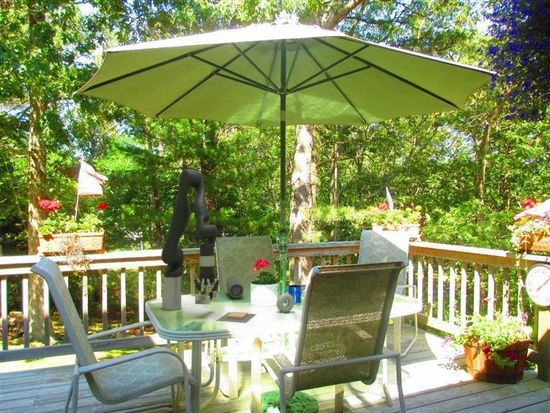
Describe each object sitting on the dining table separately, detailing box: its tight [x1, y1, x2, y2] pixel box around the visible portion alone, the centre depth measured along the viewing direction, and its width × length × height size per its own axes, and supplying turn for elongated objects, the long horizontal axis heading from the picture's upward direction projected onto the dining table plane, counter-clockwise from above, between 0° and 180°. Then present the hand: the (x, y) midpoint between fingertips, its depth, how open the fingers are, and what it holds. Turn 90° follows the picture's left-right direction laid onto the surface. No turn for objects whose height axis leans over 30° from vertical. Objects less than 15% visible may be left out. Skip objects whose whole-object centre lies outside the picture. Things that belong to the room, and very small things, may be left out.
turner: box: [194, 290, 217, 306], centre depth 234 cm, size 7×16×4 cm, turn 167°
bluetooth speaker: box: [225, 277, 244, 299], centre depth 285 cm, size 23×9×10 cm, turn 10°
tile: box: [227, 311, 249, 320], centre depth 230 cm, size 8×1×9 cm
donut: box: [276, 292, 295, 314], centre depth 243 cm, size 10×3×10 cm, turn 119°
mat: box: [215, 311, 257, 324], centre depth 229 cm, size 15×18×1 cm
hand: (207, 299), depth 233 cm, fingers closed on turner, 3 cm apart
